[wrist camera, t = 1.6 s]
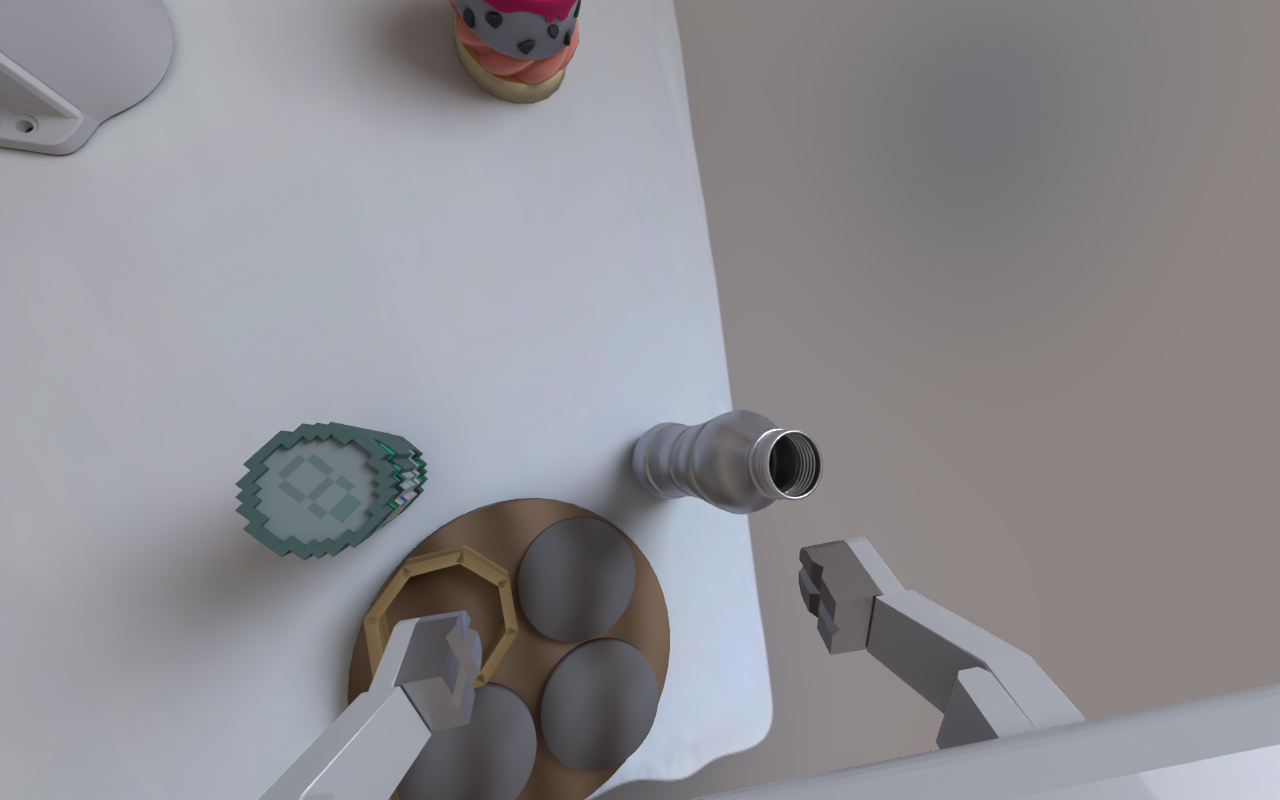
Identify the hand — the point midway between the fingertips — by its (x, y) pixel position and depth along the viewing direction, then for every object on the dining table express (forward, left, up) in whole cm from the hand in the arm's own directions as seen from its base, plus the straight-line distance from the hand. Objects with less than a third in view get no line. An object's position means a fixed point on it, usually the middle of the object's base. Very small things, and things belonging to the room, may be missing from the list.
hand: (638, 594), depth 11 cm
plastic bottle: (+12, 0, -30) cm, 32 cm away
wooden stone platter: (-2, -12, -30) cm, 32 cm away
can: (-10, +4, -30) cm, 32 cm away
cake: (+6, +40, -30) cm, 50 cm away
